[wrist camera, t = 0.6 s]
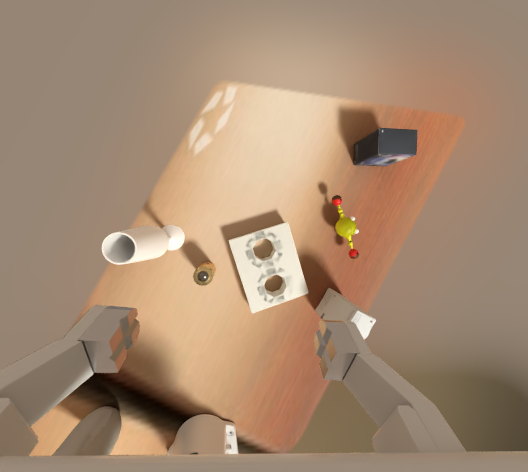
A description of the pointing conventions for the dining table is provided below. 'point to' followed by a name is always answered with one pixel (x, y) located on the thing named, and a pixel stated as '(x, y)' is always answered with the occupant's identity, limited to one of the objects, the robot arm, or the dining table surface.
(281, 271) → the jig
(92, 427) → the grey bottle
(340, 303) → the skincare box
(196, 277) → the bushing
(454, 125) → the dining table surface
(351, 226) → the toy figure
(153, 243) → the champagne flute
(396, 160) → the small box
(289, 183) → the dining table surface
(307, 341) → the dining table surface
